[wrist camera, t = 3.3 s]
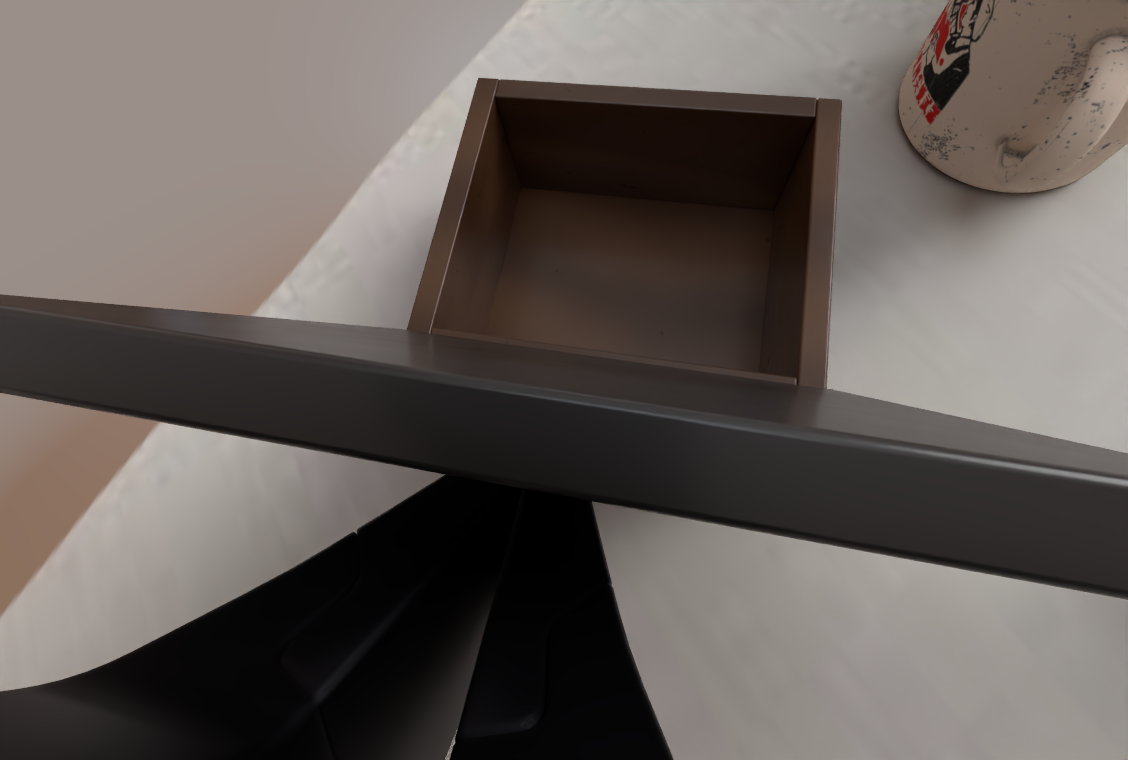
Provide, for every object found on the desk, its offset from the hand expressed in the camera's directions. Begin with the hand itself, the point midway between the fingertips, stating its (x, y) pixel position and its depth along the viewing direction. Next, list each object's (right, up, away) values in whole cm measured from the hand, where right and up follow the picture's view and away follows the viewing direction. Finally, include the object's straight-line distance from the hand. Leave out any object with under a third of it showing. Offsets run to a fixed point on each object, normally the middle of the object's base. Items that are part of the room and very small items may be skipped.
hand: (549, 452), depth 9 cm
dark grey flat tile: (0, +2, +1) cm, 2 cm away
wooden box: (+3, +5, +14) cm, 15 cm away
